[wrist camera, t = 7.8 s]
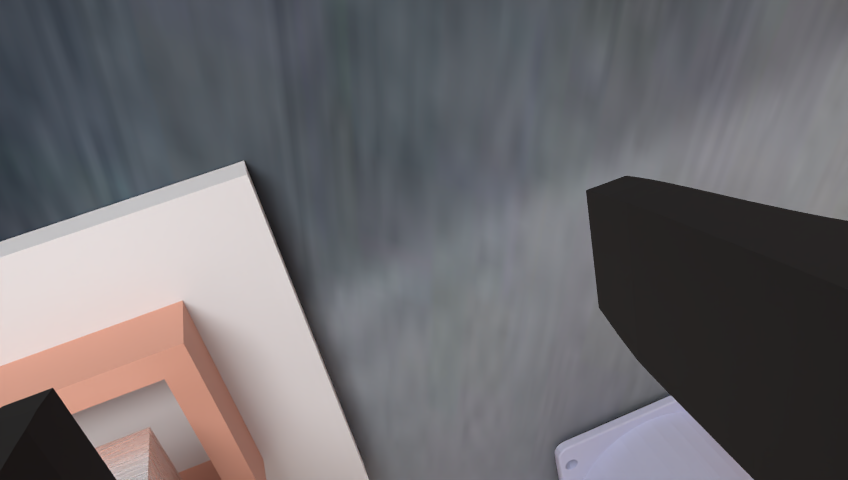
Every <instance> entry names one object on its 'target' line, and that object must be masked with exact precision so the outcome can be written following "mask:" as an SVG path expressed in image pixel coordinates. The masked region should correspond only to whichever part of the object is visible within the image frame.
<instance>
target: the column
mask: <svg viewBox="0 0 848 480" xmlns="http://www.w3.org/2000/svg"><path fill="white" fill-rule="evenodd" d="M95 449H96V451H97V452H98V454H99V455H100V457H101V458H102V459H103V461H104V462H105V464H106V465H107V467H108V468H109V470H110V471H111V472H112V474H113V475H114V477H115V478H116V480H182V478H181V477H180V475H179V473H178V472H177V470H176V468H175V467H174V465H173V464H172V462H171V460H170V459H169V457H168V455H167V454H166V452H165V451H164V449H163V447H162V446H161V444H160V442H159V441H158V439H157V437H156V436H155V434H154V433H153V431H152V429H151V428H150V427H148V428H145V429H143V430H140V431H137V432H135V433H132V434H130V435H127V436H124V437H122V438H119V439H117V440H114V441H112V442H109V443H106V444H104V445H101V446H99V447H96V448H95Z"/></svg>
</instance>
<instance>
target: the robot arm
mask: <svg viewBox="0 0 848 480" xmlns="http://www.w3.org/2000/svg"><path fill="white" fill-rule="evenodd" d="M586 194H587V203H588V212H589V221H590V230H591V239H592V248H593V257H594V267H595V276H596V285H597V294H598V303H599V308H600V310H601V311H602V312H603V314H604V315H605V317H606V318H607V320H608V321H609V322H610V324H611V325H612V327H613V328H614V329H615V331H616V332H617V334H618V335H619V336H620V338H621V339H622V340H623V342H624V343H625V344H626V346H627V347H628V348H629V349H630V351H631V352H632V353H633V355H634V356H635V357H636V359H637V360H638V361H639V362H640V363H641V364H642V366H643V367H644V368H645V369H646V370H647V371H648V372H649V373H650V374H651V375H652V376H653V377H654V378H655V379H656V380H657V381H658V382H659V383H660V384H661V385H662V386H663V388H664V389H665V390H666V391H667V392H668V393H669V394H670V396H668V397H666V398H663V399H661V400H659V401H656V402H654V403H652V404H649V405H647V406H645V407H642V408H640V409H638V410H636V411H633V412H631V413H629V414H626V415H624V416H622V417H619V418H617V419H615V420H612V421H610V422H608V423H605V424H603V425H601V426H598V427H596V428H594V429H592V430H589V431H587V432H585V433H582V434H580V435H578V436H575V437H573V438H571V439H568V440H566V441H564V442H562V443H561V444H559V445H558V447H557V448H556V450H555V459H556V465H557V471H558V476H559V480H848V221H845V220H839V219H834V218H828V217H823V216H818V215H813V214H808V213H802V212H797V211H792V210H788V209H783V208H778V207H774V206H769V205H764V204H760V203H755V202H751V201H746V200H742V199H737V198H733V197H729V196H724V195H720V194H715V193H711V192H707V191H702V190H698V189H693V188H689V187H684V186H680V185H675V184H671V183H666V182H661V181H656V180H651V179H645V178H639V177H631V176H624V177H621V178H619V179H616V180H613V181H610V182H608V183H605V184H602V185H600V186H597V187H594V188H591V189H589V190H586ZM0 480H116V478H115V477H114V475H113V474H112V472H111V471H110V470H109V468H108V467H107V465H106V464H105V462H104V461H103V459H102V458H101V457H100V455H99V454H98V452H97V451H96V449H95V448H94V446H93V445H92V443H91V442H90V441H89V439H88V438H87V436H86V435H85V433H84V432H83V430H82V429H81V427H80V426H79V425H78V423H77V422H76V420H75V419H74V417H73V416H72V414H71V413H70V412H69V410H68V409H67V407H66V406H65V404H64V403H63V401H62V400H61V398H60V397H59V396H58V394H57V393H56V391H55V390H54V388H51V389H48V390H45V391H42V392H40V393H37V394H34V395H32V396H29V397H26V398H24V399H21V400H18V401H15V402H13V403H10V404H7V405H5V406H2V407H1V408H0Z"/></svg>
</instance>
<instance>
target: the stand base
mask: <svg viewBox="0 0 848 480" xmlns="http://www.w3.org/2000/svg"><path fill="white" fill-rule="evenodd" d="M51 388H54V390H55V391H56V393H57V394H58V396H59V397H60V398H61V400H62V401H63V403H64V404H65V406H66V407H67V409H68V410H69V412H70V413H71V414H72V416H73V417H74V419H75V420H76V422H77V423H78V425H79V426H80V427H81V429H82V430H83V432H84V433H85V435H86V436H87V438H88V439H89V441H90V442H91V443H92V445H93V446H94V448H96V447H99V446H101V445H104V444H106V443H109V442H112V441H114V440H117V439H119V438H122V437H124V436H127V435H130V434H132V433H135V432H137V431H140V430H143V429H145V428H148V427H150V428H151V429H152V431H153V433H154V434H155V436H156V437H157V439H158V441H159V442H160V444H161V446H162V447H163V449H164V451H165V452H166V454H167V455H168V457H169V459H170V460H171V462H172V464H173V465H174V467H175V468H176V470H177V472H178V473H179V475H180V477H181V478H182V480H369V478H368V475H367V472H366V469H365V466H364V463H363V460H362V458H361V455H360V452H359V450H358V447H357V445H356V442H355V440H354V437H353V435H352V432H351V430H350V427H349V425H348V422H347V420H346V417H345V415H344V412H343V410H342V407H341V404H340V402H339V399H338V397H337V394H336V392H335V389H334V387H333V384H332V382H331V379H330V377H329V374H328V372H327V369H326V367H325V364H324V362H323V359H322V356H321V354H320V351H319V349H318V346H317V344H316V341H315V339H314V336H313V334H312V331H311V329H310V326H309V324H308V321H307V319H306V316H305V314H304V311H303V309H302V306H301V303H300V301H299V298H298V296H297V293H296V291H295V288H294V286H293V283H292V281H291V278H290V276H289V273H288V271H287V268H286V266H285V263H284V261H283V258H282V255H281V253H280V250H279V248H278V245H277V243H276V240H275V238H274V235H273V233H272V230H271V228H270V225H269V223H268V220H267V218H266V215H265V213H264V210H263V207H262V205H261V202H260V200H259V197H258V195H257V192H256V190H255V187H254V185H253V182H252V180H251V177H250V175H249V172H248V170H247V167H246V165H245V162H244V161H242V162H239V163H236V164H232V165H229V166H226V167H223V168H220V169H217V170H214V171H211V172H208V173H205V174H202V175H199V176H196V177H193V178H190V179H187V180H184V181H181V182H178V183H175V184H172V185H169V186H166V187H163V188H160V189H157V190H154V191H151V192H148V193H145V194H142V195H139V196H136V197H133V198H130V199H127V200H124V201H121V202H118V203H115V204H112V205H109V206H106V207H103V208H100V209H97V210H94V211H91V212H88V213H85V214H82V215H79V216H76V217H73V218H70V219H67V220H64V221H61V222H58V223H55V224H52V225H49V226H46V227H43V228H40V229H37V230H34V231H31V232H28V233H25V234H22V235H19V236H16V237H13V238H10V239H7V240H4V241H1V242H0V408H1V407H2V406H5V405H7V404H10V403H13V402H15V401H18V400H21V399H24V398H26V397H29V396H32V395H34V394H37V393H40V392H42V391H45V390H48V389H51Z"/></svg>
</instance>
